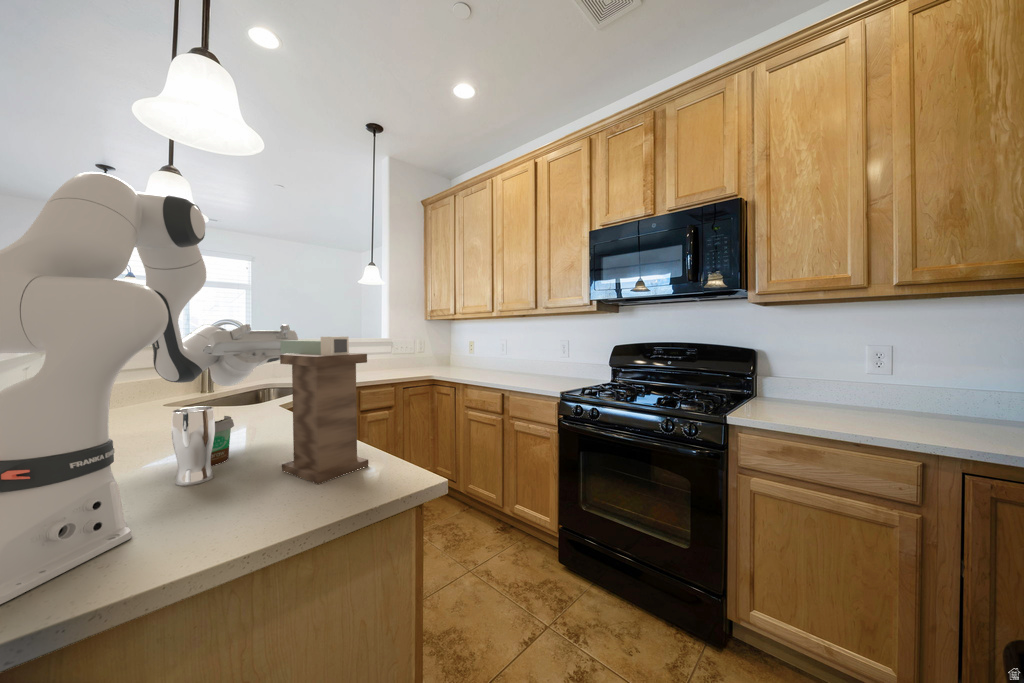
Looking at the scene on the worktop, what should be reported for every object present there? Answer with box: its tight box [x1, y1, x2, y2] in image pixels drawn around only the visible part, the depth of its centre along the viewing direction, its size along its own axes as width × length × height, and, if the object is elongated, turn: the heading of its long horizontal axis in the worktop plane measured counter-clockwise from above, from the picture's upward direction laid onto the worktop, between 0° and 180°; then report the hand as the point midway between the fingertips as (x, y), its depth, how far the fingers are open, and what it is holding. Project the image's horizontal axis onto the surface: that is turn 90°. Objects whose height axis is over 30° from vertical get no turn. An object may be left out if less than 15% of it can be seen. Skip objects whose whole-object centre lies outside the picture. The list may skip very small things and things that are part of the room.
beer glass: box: [170, 405, 215, 487], centre depth 78 cm, size 7×7×15 cm
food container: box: [211, 415, 235, 467], centre depth 89 cm, size 12×6×10 cm, turn 168°
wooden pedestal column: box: [279, 352, 369, 485], centre depth 85 cm, size 14×12×26 cm
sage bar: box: [281, 336, 350, 356], centre depth 87 cm, size 22×4×4 cm, turn 58°
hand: (267, 326), depth 97 cm, fingers open, 8 cm apart
